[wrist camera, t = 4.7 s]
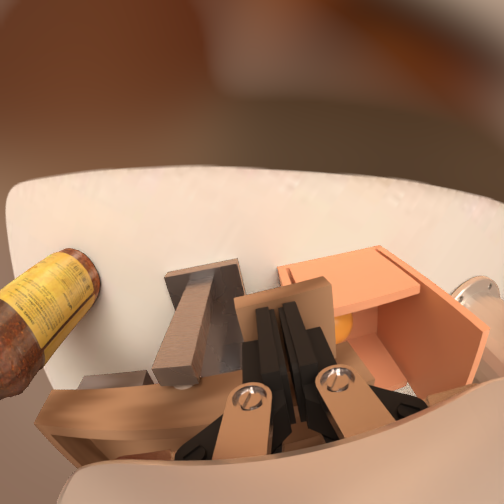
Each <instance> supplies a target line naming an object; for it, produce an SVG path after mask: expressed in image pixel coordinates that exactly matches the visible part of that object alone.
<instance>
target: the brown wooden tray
mask: <svg viewBox="0 0 504 504" xmlns="http://www.w3.org/2000/svg"><path fill="white" fill-rule="evenodd" d="M292 301H295V302H296V304H297V307H298V310H299V312H300V315H301V318H302V321H303V323H304V326H305V329H306V330H307V329H311V328H315V327H321V329H322V331H323V333H324V336H325V338H326V340H327V342H328V345H329V347H330V349H331V351H332V354H333V356H334V358H335V360H336V363H337V365H338V364H343V365H348V366H351V367H353V368H354V369H356V370H357V371H358V373H359V374H360V375H361V376H362V378H363V379H364V380H365V382H366V383H367V384H368V385H372V386H374V383H375V378H374V377H373V376H372V374H371V373H370V371H369V370H368V369H367V367H366V366H365V364H364V363H363V362H362V360H361V359H360V358H359V356H358V355H357V354H356V352H355V351H354V349H353V348H352V347H351V345H350V344H349V343H348V341H345V342H342V343H338V344H336V338H335V321H334V307H333V294H332V284H331V283H330V282H329V281H328V280H327V279H326V278H325V277H324V276H320V277H317V278H313V279H309V280H305V281H301V282H298V283H294V284H290V285H286V286H282V287H278V288H274V289H270V290H265V291H261V292H257V293H253V294H249V295H244V296H240V297H236V298H234V304H235V310H236V314H237V317H238V321H239V325H240V329H241V332H242V336H243V340H244V342H247V341H253V340H258V333H257V322H256V311H255V309H258V308H263V307H268V308H269V310H271V309H274V311H275V316H276V321H277V325H278V330H279V335H280V340H281V345H282V349H283V354H284V359H285V364H286V369H287V374H288V379H289V385H290V390H291V396H292V401H293V407H294V413H295V418H296V424H291V429H292V433H291V434H290V435H289V436H288V437H287V438H286V439H285V440H284V445H285V448H284V452H288V451H294V450H299V449H304V448H308V447H313V446H317V445H322V444H323V443H322V441H321V438H320V435H319V433H318V432H316V431H313V430H311V429H308V426H307V422H306V421H305V422H301V421H300V416H299V411H298V407H297V402H296V397H295V393H294V388H293V383H292V379H291V374H290V370H289V365H288V360H287V355H286V349H285V344H284V338H283V333H282V327H281V322H280V317H279V311H278V308H280V307H283V305H282V304H283V303H288V302H292ZM239 385H242V370H238V371H233V372H228V373H223V374H218V375H213V376H207V377H201V378H200V381H199V384H190V385H177V386H160V384H154V383H153V381H152V379H151V377H150V375H149V374H148V372H147V370H143V371H134V372H125V373H115V374H104V375H90V376H84V377H83V379H82V381H81V383H80V385H79V387H78V389H77V390H52V391H51V393H50V394H49V396H48V398H47V400H46V402H45V403H44V405H43V407H42V409H41V411H40V413H39V414H38V416H37V418H36V420H35V422H34V425H35V426H36V427H37V428H38V429H39V430H40V431H41V432H42V434H43V435H44V436H45V437H46V438H47V439H48V440H49V441H50V442H51V443H52V444H53V446H55V448H56V449H57V450H58V451H59V452H60V453H61V454H63V456H65V457H66V458H67V459H68V460H69V461H70V462H71V463H72V464H73V465H74V466H75V467H76V468H77V469H78V468H80V467H82V466H85V465H88V464H91V463H96V462H101V461H108V460H115V459H116V458H118V457H120V456H124V455H133V454H141V453H149V452H156V451H162V450H168V449H171V451H172V452H173V451H177V450H178V449H179V448H180V447H181V446H182V445H183V444H184V443H186V442H187V441H189V440H190V439H191V438H193V437H194V436H195V435H197V434H198V433H199V432H201V431H202V430H203V429H205V428H206V427H207V426H208V425H210V424H211V423H212V422H213V421H215V420H216V419H217V418H219V417H220V416H221V415H222V414H223V413H224V410H225V406H226V402H227V398H228V396H229V394H230V392H231V391H232V390H233V389H235V388H236V387H238V386H239Z"/></svg>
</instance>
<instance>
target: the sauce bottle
mask: <svg viewBox="0 0 504 504" xmlns="http://www.w3.org/2000/svg"><path fill="white" fill-rule="evenodd" d="M99 287H100V280H99V276H98V273H97V271H96V269H95V267H94V265H93V263H92V262H91V261H90V259H89V258H88V257H87V256H86V255H85V254H84V253H82V252H80V251H79V250H75V249H71V248H66V249H64V250H61V251H59V252H56V253H53V254H51V255H49V256H48V257H46V258H45V259H43V260H42V261H40V262H39V263H37V264H36V265H34V266H33V267H31V268H30V269H29V270H27V271H26V272H24V273H23V274H21V275H20V276H19V277H17V278H16V279H14V280H13V281H12V282H11V283H9V284H8V285H6V286H5V287H3V288H2V289H1V290H0V400H1V399H3V398H6V397H12V396H15V395H19V394H21V393H23V391H24V390H25V389H26V388H27V387H28V385H29V384H30V382H31V381H32V379H33V378H34V376H35V375H36V374H37V372H38V371H39V370H40V369H42V368H43V367H44V366H45V364H46V363H47V361H48V360H49V359H50V358H51V356H52V355H53V354H54V352H55V351H56V350H57V348H58V347H59V346H60V345H61V343H62V342H63V341H64V339H65V338H66V337H67V336H68V334H69V333H70V332H71V331H72V329H73V328H74V327H75V326H76V325H77V323H78V322H79V321H80V320H81V319H82V317H83V316H84V315H85V314H86V313H87V312H88V310H89V309H90V308H91V307H92V305H93V304H94V302H95V300H96V298H97V296H98V292H99Z"/></svg>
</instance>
